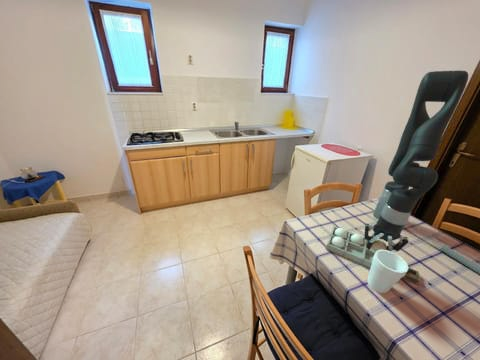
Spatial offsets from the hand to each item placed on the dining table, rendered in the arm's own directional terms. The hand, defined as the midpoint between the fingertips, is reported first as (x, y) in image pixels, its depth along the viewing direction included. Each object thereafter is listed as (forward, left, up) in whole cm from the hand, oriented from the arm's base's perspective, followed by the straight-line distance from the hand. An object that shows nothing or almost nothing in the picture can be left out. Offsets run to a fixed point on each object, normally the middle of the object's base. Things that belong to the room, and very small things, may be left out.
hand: (376, 251), depth 78 cm
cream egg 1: (-7, -13, -3) cm, 16 cm away
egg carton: (-4, -7, -6) cm, 10 cm away
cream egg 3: (-7, -7, -3) cm, 10 cm away
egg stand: (-1, +13, -6) cm, 14 cm away
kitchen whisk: (-26, +25, -7) cm, 37 cm away
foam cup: (+10, +3, -7) cm, 13 cm away
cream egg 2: (0, -13, -3) cm, 14 cm away
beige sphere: (0, 0, +3) cm, 3 cm away
